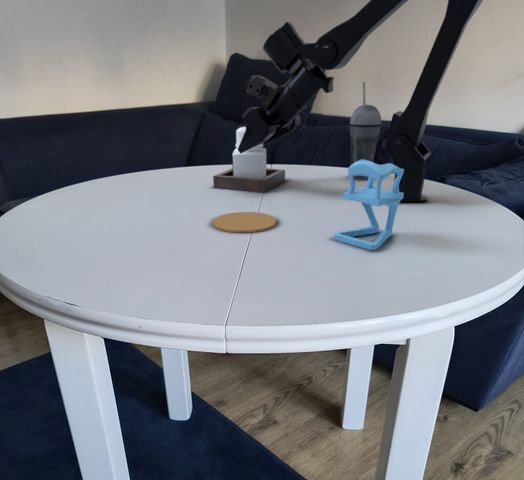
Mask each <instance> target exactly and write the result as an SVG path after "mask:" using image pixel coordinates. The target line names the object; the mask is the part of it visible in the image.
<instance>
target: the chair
mask: <svg viewBox="0 0 524 480" xmlns="http://www.w3.org/2000/svg"><path fill="white" fill-rule="evenodd" d="M346 171H347V176H348V181H349V186H348V187H349V188H348V190H347V191H345V192H342V200H347V201H353V202H354V201H355V202H360V203H361V205H362V207H363V209H364V211H365V213H366V216H367V219H368V221H369V223H370V226H366V227H361V228H355V229H349V230H343V231H337V232H335V233H333V240H335V241H338V242H341V243H345V244H348V245H351V246H355V247H358V248H362V249H365V250H368V251H373V252H374V251H376V250H377V249H379V248H380V247H381V246H382V245H384V243H385V241H387V240H388V239H389V238H390V237H391V236H392V235H393V228H394V223H395V219H396V215H397V211H398V208H399V205H400V203H401V202H400V200H401V199H403V195H404V193H402V192H399V182H400V180H401V178H402V175H403V172H404V169H400V168H399V167H397V166H395V165H394V163H390V162H389V163H383V164H378V163H375V162H374V161H373V162H371V161H367V160H365V159H361V160H359V161H357V162H355V163H353V164H352V165H351V164H350V166H349V167H347V169H346ZM392 174H394V175H395V174H397V178H396V180H395V182H394V181H393V184H392V190H388V189H384V188H383V189H382V183H383V181H384V180H385V179H387V177H389V176H390V175H392ZM353 176H367V177H369V178H368V179H367V186H363V187H361V188H359V189H356V181H355V179H354V178H353ZM374 180H375V181H376V184H375V186H374ZM372 206H374V207H381V206H387V207H388V213H387V219H386V223H385V228H384V230H383V231H382V232H381V233H380V234H378V236H377V238H375V240H374V241H373V242H371V241H367V240H363V239H359V238H356V237H361V236H365V235H366V236H367V235H373V234H376V233H379V232H380V226H379V223H378V221H377V217H376V216H375V212H374V209H373V207H372Z"/></svg>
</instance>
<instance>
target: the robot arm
mask: <svg viewBox="0 0 524 480" xmlns="http://www.w3.org/2000/svg"><path fill="white" fill-rule="evenodd" d="M408 1H409V0H369V1H368V2H367V3H366V4H365V5H364V6H363V7H361V9H359V10H358V11H357V12H356V14H354V15H353V16H352V17H350V18H349V19H347V20H345V21H343V22H342V23H339V24H338V25H336V26H334V27H333V28H331V29H330V30H328V31H327V32H325V33H324V34H322V35H321V36H319V38H318V39H317V40H316V42H305V41H304V39H303V38H302V37H301V35H300V34H299V33H298V31H297V29H296V27H295V26H294V25H293V23H292V22H290V21H285V23H284V24H283V25H282V26H281V27H279V28H278V29H277V30H275V31H274V32H273V33H272V34H270V35H269V36H268V37H267V39H266V40H265V41H264V44H263V46H262V50H263V52H264V53H265V54H266V55H267V56H268V58H269V59H270V60H271V62H272V63H273V64H274V65H275V67H276V69H278V70H279V72H280V73H281V74H285V73H286V72H287V73H288V75H291V74H292V73H293V74H292V75H291V76H290V77H289V78H288V80H287V81H286V82H285V83H284V84H282V85H281V84H279V85H277V84H276V83H275V82H274V81H271V80H270V79H268V78H266V77H265V76H262V75H259V74H256V75H251V76H250V78H249V80H247V81H246V86H247V89H246V93H247V94H248V95H250V96H254V97H256V98H257V99H258V100H260V101H262V103H261V106H254V107H249V108H247V109H246V110H245V112H243V114H242V119H243V123H244V124H245V126H246V130H245V133H244V136H243V138H242V140H241V143H240V145H239V147H238V151H239V152H240V153H243V152H245V151H247V150H249V149H251V148H253V147H255V146H257V145H259V144H261V143H263V146H264V145H266V144H268V143H271V142H273V141H275V140H277V139H280V138H281V137H284V136H286V135H288V134H290V133H292V132H294V131H296V129H297V128H299V127H300V125H301V122H302V121H301V117H300V115H299V114H300V112H304V111H305V110H306V109H307V108H308V106H307V105H308V104H309V102H310V101H312V99H313V98H314V97H315V96H316V95H317V94H318V93H319V91H320V90H321V89H322V91H323V92H324V93H325V94H329V93H333V92H334V80H335V77H334V76H328V75H327V74H326V72H325V71H332V70H340V69H343V68H344V67H346V66H347V65H348V63H349V62H350V61H351V60H352V58H353V57H354V56H355V55H356V54H357V53H358V51H359V50H360V48H361V47H362V45H363V44H364V42H365V41H366V39H368V37H369V36H370V35H371V34H373V32H374V31H375V30H377V29H378V28H379V27H380V26H381V25H382V24H384V22H386V20H388V19H389V18H390V17H391V16H393V14H395V13H396V12H397V11H398V10H399V9H400V8H401V7H402V6H404V4H406V3H408ZM483 1H484V0H447V6H446V10H445V14H444V18H443V21H442V23H441V24H440V28H439V30H438V32H437V34H436V37H435V40H434V42H433V45H432V47H431V49H430V51H429V54H428V56H427V59H426V61H425V64H424V66H423V68H422V70H421V72H420V76H419V78H418V80H417V82H416V85H415V87H414V89H413V92H412V95H411V97H410V99H409V102H408V103H407V106H406V107H405V109H404V110H403V111H401V110H398V111H397V112H394V113H393V114H392V115H391V116H392V117H391V121H390V123H389V128H388V129H387V131H386V132H385V133H384V135H383V136H384V137H385V138H386V140H385V143H384V148H385V150H386V153H387V155H388V156H389V157H390V158H391V159H392V164H393V165H395V166H397V167H399V168H400V169H404V172H403V175H402V178H401V180H400V182H399V192H402V193H404V195H403V199H401V200H400V203H427V201H428V199H427V197H425V196H424V195H423V190H424V183H425V177H426V171H427V166H426V164H427V163H428V161H429V159H430V157H431V155H432V153H431V151H430V150H429V148H428V147H427V146H426V145H425V143H424V142H423V137H424V134H425V130H426V127H427V122H428V117H429V112H430V109H431V107H432V105H433V102H434V100H435V97H436V95H437V93H438V91H439V88H440V86H441V84H442V81H443V79H444V78H445V75H446V73H447V70H448V68H449V66H450V64H451V61H452V59H453V57H454V55H455V53H456V51H457V48H458V45H459V43H460V41H461V39H462V37H463V34H464V33H465V30H466V27H467V26H468V24H469V22H470V21H471V20H472V18H473V16H474V15H475V13H476V11H478V10H479V8H480V7H481V5H482V3H483ZM312 61H314V62H315V63H316V65H314V64H313V63H312ZM263 108H264V109H265V110H267V111H265V110H264V109H263ZM396 178H397V174H395V173H394V177H393V183H394V182H395V180H396Z"/></svg>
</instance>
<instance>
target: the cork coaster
mask: <svg viewBox="0 0 524 480" xmlns="http://www.w3.org/2000/svg"><path fill="white" fill-rule="evenodd" d="M212 225H213V227H214V228H215V229H218V230H220V231H223V232H229V233H237V234H238V233H239V234H241V233H242V234H243V233H244V234H247V233H259V232H264V231H266V230H267V231H268V230H270V229H272V228H274V227H275V226H276V225H277V219H276V218H275V217H274V216H273V215H270V214H267V213H262V212H254V211H253V212H252V211H240V212H239V211H238V212H231V213H225V214H222V215H219V216H217V217H215V218H214V219H213V221H212Z"/></svg>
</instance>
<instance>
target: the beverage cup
mask: <svg viewBox="0 0 524 480" xmlns="http://www.w3.org/2000/svg"><path fill="white" fill-rule="evenodd" d="M349 121H350V122H349V123H348V126H349V135H350V166H351V165H352V164H353V163H355V162H357V161H359V160H361V159H365V160H367V161H371V162H373V163H374V161H375V155H376V149H377V144H378V140H379V139H378V138H379V135H380V132H381V127H382V126H383V124H382V116H381V113H380V110H379V109H378V108H377V107H376V106H375V105H373V104H366V81H362V104H361V105H359V106H358V107H357V108H355V110H353V112H352V114H351V117H350V120H349ZM353 178H354V180H356V181H357V180H358V181H366V180H367V181H368V178H369V177H367V176H353Z"/></svg>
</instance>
